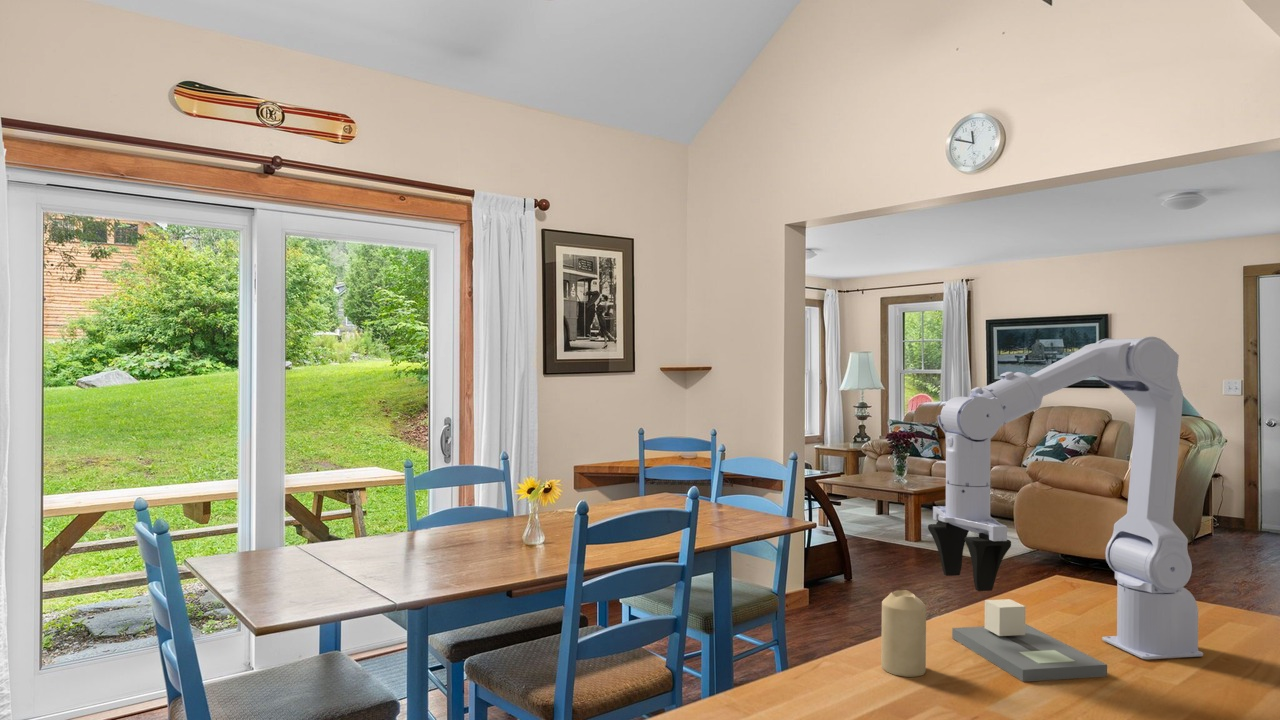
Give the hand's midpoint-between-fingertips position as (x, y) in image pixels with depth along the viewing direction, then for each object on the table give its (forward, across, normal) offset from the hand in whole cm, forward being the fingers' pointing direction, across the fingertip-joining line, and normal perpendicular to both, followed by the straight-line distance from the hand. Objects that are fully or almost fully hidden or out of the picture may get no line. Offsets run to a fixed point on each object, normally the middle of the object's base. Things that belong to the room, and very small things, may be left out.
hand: (967, 582), depth 109 cm
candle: (+10, +4, -12) cm, 16 cm away
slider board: (+10, +2, +8) cm, 13 cm away
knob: (+8, -3, +8) cm, 11 cm away
